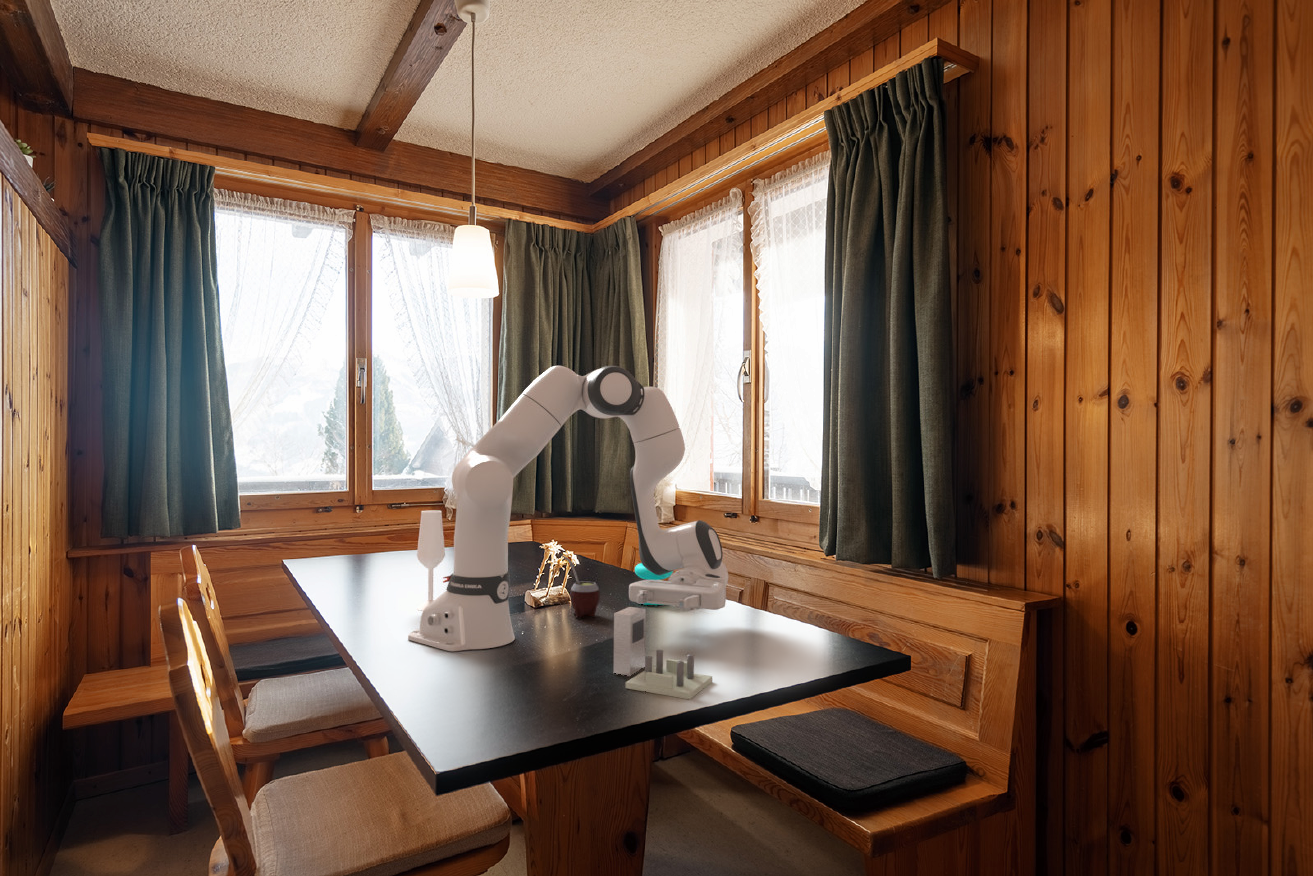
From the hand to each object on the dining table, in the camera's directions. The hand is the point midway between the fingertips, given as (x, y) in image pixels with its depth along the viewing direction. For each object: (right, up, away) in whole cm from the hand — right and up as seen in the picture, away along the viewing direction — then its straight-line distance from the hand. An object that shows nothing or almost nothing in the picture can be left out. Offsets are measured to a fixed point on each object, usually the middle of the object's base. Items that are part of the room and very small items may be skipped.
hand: (660, 602), depth 151 cm
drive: (-6, -10, -11) cm, 16 cm away
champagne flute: (-57, -10, +37) cm, 69 cm away
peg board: (+1, -10, -19) cm, 22 cm away
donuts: (-2, -10, +46) cm, 47 cm away
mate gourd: (-18, -10, +30) cm, 36 cm away
